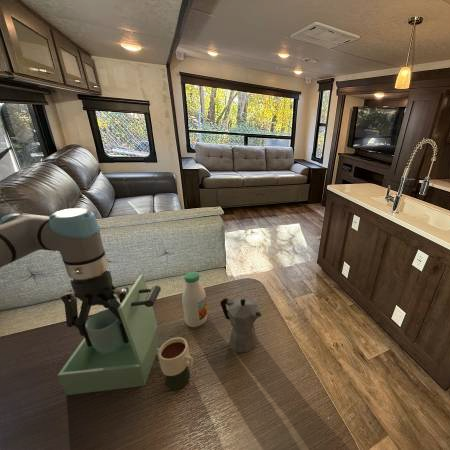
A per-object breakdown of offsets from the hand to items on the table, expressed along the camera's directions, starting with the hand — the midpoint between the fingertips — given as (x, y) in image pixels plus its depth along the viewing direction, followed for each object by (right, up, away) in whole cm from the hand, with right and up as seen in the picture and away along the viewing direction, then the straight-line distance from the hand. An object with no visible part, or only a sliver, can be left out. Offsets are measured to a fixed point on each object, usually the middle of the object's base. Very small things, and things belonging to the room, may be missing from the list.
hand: (110, 340), depth 68 cm
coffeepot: (+32, -8, +17) cm, 37 cm away
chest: (-1, -10, +4) cm, 11 cm away
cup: (0, -2, +1) cm, 2 cm away
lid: (+9, +6, -1) cm, 11 cm away
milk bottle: (+14, -3, +23) cm, 27 cm away
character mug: (+18, -13, +2) cm, 22 cm away
